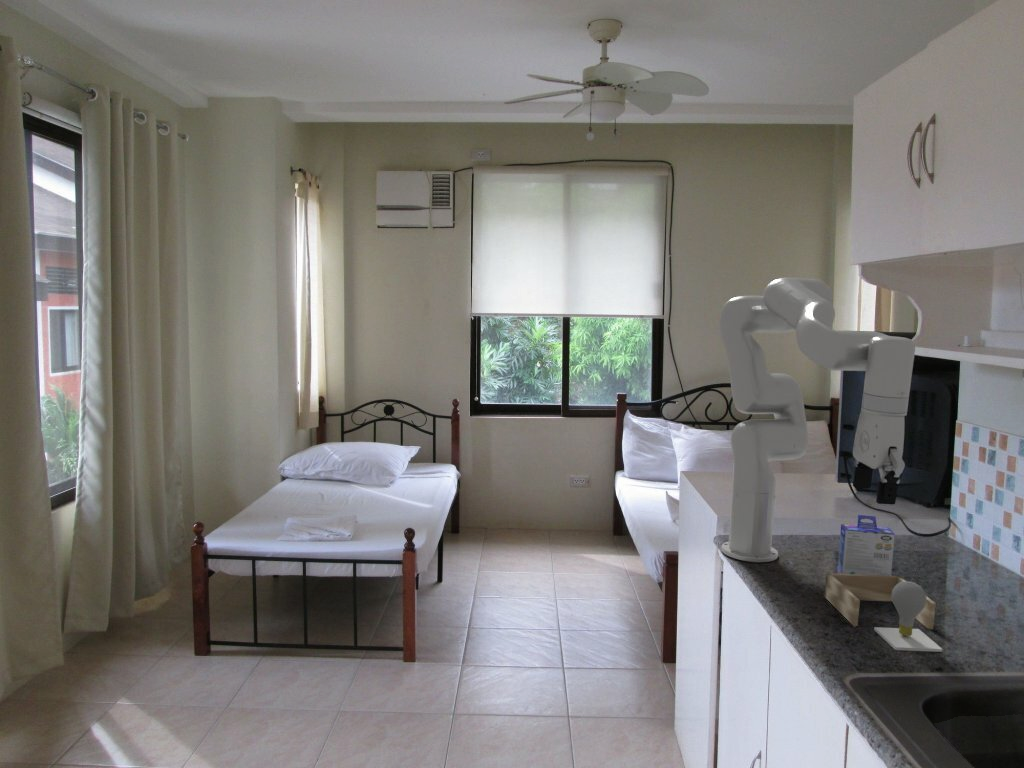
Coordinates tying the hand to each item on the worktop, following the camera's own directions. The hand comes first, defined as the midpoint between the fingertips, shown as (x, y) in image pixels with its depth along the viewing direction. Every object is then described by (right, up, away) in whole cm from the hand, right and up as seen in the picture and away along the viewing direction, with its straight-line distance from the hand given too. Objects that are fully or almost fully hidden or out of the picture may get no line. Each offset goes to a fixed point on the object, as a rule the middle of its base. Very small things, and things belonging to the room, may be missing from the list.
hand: (873, 495), depth 143 cm
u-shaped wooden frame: (+3, -23, +6) cm, 24 cm away
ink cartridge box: (+7, -22, +20) cm, 31 cm away
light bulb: (+3, -24, -6) cm, 25 cm away
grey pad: (+3, -25, -6) cm, 26 cm away
